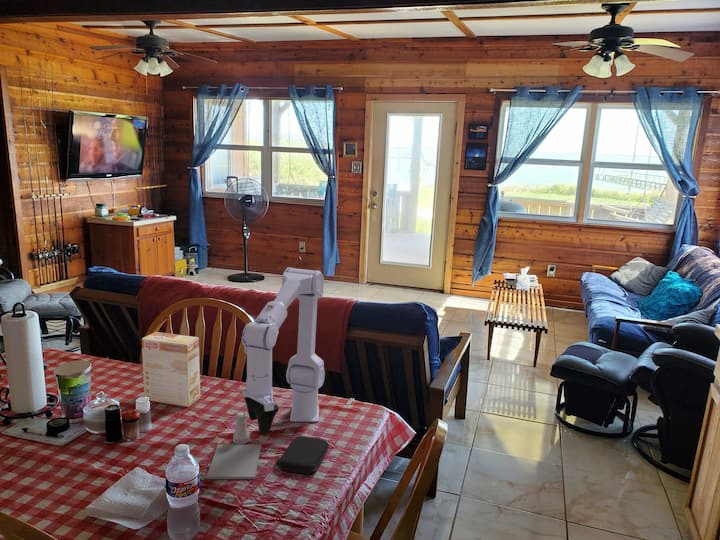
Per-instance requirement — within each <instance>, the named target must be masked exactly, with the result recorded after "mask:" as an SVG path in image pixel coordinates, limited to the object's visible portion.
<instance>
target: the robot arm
mask: <svg viewBox="0 0 720 540" xmlns="http://www.w3.org/2000/svg"><path fill="white" fill-rule="evenodd" d="M324 278H325V277H324V275H323V273H322V272H321V270H311V269H303V268H295V267H291V266H290V267H289V266H288V267H286V269H285V270H284V271H283V274H282V277H281V288H280V290H279V292H278V293H277V294H276V297H275V298H274V300H272V301H268V302H266V305H265V306H264V307H263V308H262V309H261V311H260V313H259V314H258V315H257V317H256V318H255V320H254V321H251V322H249V323H247V324H246V325H244V328H243V330H242V334H241V335H242V336H241V343H242V346H243V347H244V350H243V351H244V353H245V354H246V379H245V380H246V381H245V382H246V383H245V384H246V385H245V386H246V389H245V390H242V391H241V395H242V397H243V399H244V401H245V404H246V408H247V413H248V414H247V415H248V418H249V420H250V421H255V420H257V426H258V431H259V434H260V435H261V436H265V435H268V434H270V432H271V428H272V424H273V421H274V419H275V416H276V415H277V413H278V412H279V409H280V408H279V405H277V404H276V403H275V401H274V399H273V398H274V397H273V394H274V393H273V392H274V391H273V390H274V389H273V348H274V346H276V343H277V338H278V335H279V329H280V328H281V326H282V324H283V323H284V322H285V320H286V318H287V317H288V310H287V309H288V308H289V306H291V304H292V303H293V302H294V301H295V299H298V300H299V301H298V302H299V304H298V305H299V308H298V309H299V310H298V311H299V312H298V327H297V329H298V332H297V345H296V346H297V347H296V348H297V352H296V354H295V355H293V356H291V358H290V359H289V360H288V365H287V368H286V374H285V376H286V377H285V378H286V382H287V383H288V384H289V385H290V388H292V399H291V400H292V403H291V404H292V405H291V410H290V418H289V421H290V422H292V423H293V422H297V423H299V422H303V423H306V422H310V423H311V422H313V423H315V422H316V423H317V422H318V423H319V416H320V405H319V404H318V401H319V389H320V388H321V387H322V386H323V385H324V382H325V376H326V371H325V366H324V365H325V363H324V362H325V361H324V360H323V359H322V358H321V357H320V356H318V355H317V354H316V353H315V350H316V335H317V334H316V333H317V316H318V313H317V312H318V299H322V298H323V294H324V284H325V283H324V282H325V281H324V280H325V279H324Z"/></svg>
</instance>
